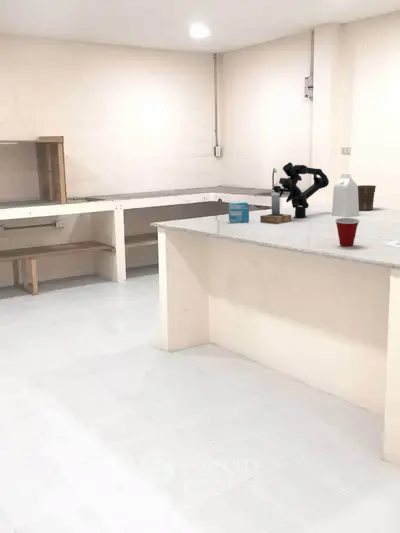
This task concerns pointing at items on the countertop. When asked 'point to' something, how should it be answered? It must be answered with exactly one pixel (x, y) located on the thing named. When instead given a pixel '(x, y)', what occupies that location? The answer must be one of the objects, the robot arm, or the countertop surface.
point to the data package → (239, 212)
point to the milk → (345, 197)
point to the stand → (275, 218)
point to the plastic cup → (346, 230)
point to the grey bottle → (275, 203)
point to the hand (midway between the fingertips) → (280, 201)
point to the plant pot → (366, 197)
